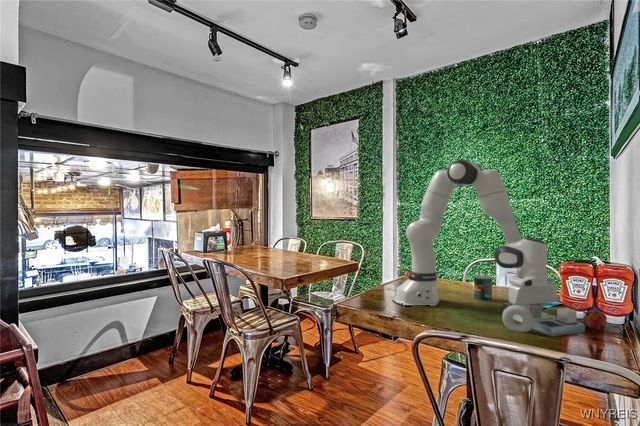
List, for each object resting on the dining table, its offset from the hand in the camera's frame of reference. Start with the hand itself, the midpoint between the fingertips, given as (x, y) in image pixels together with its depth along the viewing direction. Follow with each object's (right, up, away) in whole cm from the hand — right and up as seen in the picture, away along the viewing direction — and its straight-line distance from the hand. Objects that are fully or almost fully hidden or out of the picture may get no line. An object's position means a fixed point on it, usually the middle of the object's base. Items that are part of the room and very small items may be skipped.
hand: (532, 314), depth 133 cm
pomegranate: (+19, -4, -7) cm, 20 cm away
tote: (0, -3, 0) cm, 3 cm away
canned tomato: (-4, -3, +33) cm, 33 cm away
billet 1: (0, -3, 0) cm, 2 cm away
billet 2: (+6, -2, -9) cm, 11 cm away
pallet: (+3, -3, -10) cm, 11 cm away
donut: (-12, -4, -10) cm, 16 cm away
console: (-1, -3, +10) cm, 11 cm away
